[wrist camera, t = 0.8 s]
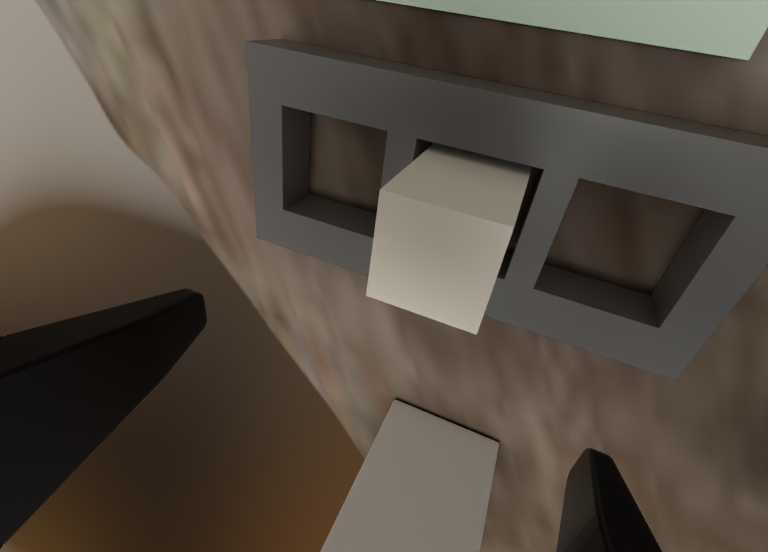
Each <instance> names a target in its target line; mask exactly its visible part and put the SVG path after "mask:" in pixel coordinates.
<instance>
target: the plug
mask: <svg viewBox="0 0 768 552" xmlns="http://www.w3.org/2000/svg"><path fill="white" fill-rule="evenodd" d="M531 170H532V166H528V165H524V164H520V163H516V162H512V161H507V160H503V159H499V158H495V157H491V156H487V155H483V154H479V153H475V152H471V151H467V150H463V149H458V148H454V147H450V146H446V145H442V144H438V143H434V144H433V145H431V146H430V147H429V148H428V149H427V150H426V151H424V152H423V153H422V154H421V155H420V156H419V157H417V158H416V159H415V160H414V161H413V162H412V163H410V164H409V165H408V166H407V167H406V168H404V169H403V170H402V171H401V172H400V173H399V174H397V175H396V176H395V177H394V178H393V179H392V180H390V181H389V182H388V183H387V184H386V185H385V186H383V187H382V188H381V189H380V192H379V200H378V207H377V215H376V223H375V231H374V238H373V246H372V254H371V261H370V269H369V277H368V284H367V292H366V296H368V297H371V298H374V299H377V300H380V301H383V302H385V303H388V304H391V305H394V306H397V307H399V308H402V309H405V310H408V311H411V312H414V313H416V314H419V315H422V316H425V317H428V318H431V319H433V320H436V321H439V322H442V323H445V324H447V325H450V326H453V327H456V328H459V329H462V330H464V331H467V332H470V333H473V334H476V335H477V333H478V330H479V327H480V324H481V321H482V318H483V315H484V312H485V310H486V307H487V304H488V301H489V298H490V295H491V292H492V289H493V287H494V284H495V281H496V278H497V275H498V272H499V269H500V267H501V264H502V261H503V258H504V255H505V252H506V249H507V246H508V244H509V241H510V238H511V235H512V232H513V229H514V226H515V223H516V220H517V216H518V213H519V210H520V206H521V203H522V200H523V197H524V193H525V190H526V187H527V183H528V180H529V177H530V174H531Z"/></svg>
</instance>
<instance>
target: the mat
mask: <svg viewBox="0 0 768 552" xmlns="http://www.w3.org/2000/svg"><path fill="white" fill-rule="evenodd" d="M378 1H385V2H391V3H397V4H403V5H409V6H415V7H422V8H428V9H434V10H440V11H446V12H452V13H459V14H465V15H471V16H477V17H483V18H489V19H496V20H502V21H508V22H514V23H520V24H526V25H533V26H539V27H545V28H551V29H557V30H564V31H570V32H576V33H582V34H588V35H594V36H601V37H607V38H613V39H619V40H625V41H631V42H638V43H644V44H650V45H656V46H662V47H668V48H675V49H681V50H687V51H693V52H699V53H705V54H712V55H718V56H724V57H730V58H736V59H742V60H749V59H750V57H751V55H752V54H753V52H754V50H755V48H756V46H757V45H758V43H759V41H760V39H761V38H762V36H763V34H764V32H765V31H766V29H767V27H768V0H378Z"/></svg>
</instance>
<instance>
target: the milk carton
mask: <svg viewBox="0 0 768 552" xmlns="http://www.w3.org/2000/svg"><path fill="white" fill-rule="evenodd" d="M498 448H499V443H498V442H496V441H494V440H491V439H489V438H487V437H484V436H482V435H480V434H477V433H475V432H472V431H470V430H468V429H465V428H463V427H460V426H458V425H456V424H453V423H451V422H448V421H446V420H444V419H441V418H439V417H436V416H434V415H432V414H429V413H427V412H424V411H422V410H420V409H417V408H415V407H412V406H410V405H407V404H405V403H403V402H400V401H398V400H394V401H393V403H392V405H391V407H390V409H389V411H388V413H387V415H386V417H385V419H384V422H383V424H382V426H381V428H380V430H379V432H378V434H377V436H376V438H375V440H374V442H373V444H372V446H371V448H370V450H369V452H368V455H367V457H366V459H365V461H364V463H363V465H362V467H361V469H360V471H359V473H358V475H357V477H356V479H355V481H354V483H353V486H352V488H351V490H350V492H349V494H348V496H347V498H346V500H345V502H344V504H343V506H342V508H341V510H340V512H339V514H338V516H337V519H336V521H335V523H334V525H333V527H332V529H331V531H330V533H329V535H328V537H327V540H326V542H325V543H324V546H323V547H322V550H321V552H480V546H481V541H482V535H483V530H484V525H485V519H486V514H487V508H488V503H489V497H490V492H491V486H492V481H493V476H494V470H495V465H496V459H497V454H498Z"/></svg>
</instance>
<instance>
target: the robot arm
mask: <svg viewBox="0 0 768 552" xmlns="http://www.w3.org/2000/svg"><path fill="white" fill-rule="evenodd" d="M206 323H207V314H206V308H205V301H204V297H203V295H202V294H201V293H199V292H197V291H194V290H192V289H188V288H185V289H181V290H177V291H173V292H169V293H165V294H162V295H158V296H154V297H150V298H146V299H142V300H138V301H135V302H131V303H127V304H123V305H119V306H115V307H111V308H108V309H104V310H100V311H96V312H93V313H88V314H85V315H81V316H77V317H73V318H69V319H65V320H62V321H58V322H54V323H50V324H46V325H42V326H39V327H35V328H31V329H27V330H23V331H20V332H16V333H12V334H8V335H6V336H5V337H4V336H0V549H1V547H2V546H3V544H5V543H6V542H7V541H8V540H9V539H10V538H11V537H12V536H13V535H14V534H15V533H16V532H17V531H18V530H19V529H20V528H21V527H22V525H23V524H24V523H25V522H26V521H27V520H28V519H29V518H30V517H31V516H32V515H33V514H34V513H35V512H36V511H37V510H38V509H39V508H40V507H41V506H42V505H43V504H44V503H45V501H47V499H48V498H49V497H50V496H51V495H52V494H53V493H54V492H55V491H56V490H57V489H58V488H59V487H60V486H61V485H62V484H63V483H64V482H65V481H66V480H67V479H68V478H69V477H70V476H71V474H72V473H73V472H74V471H75V470H76V469H77V468H78V467H79V466H80V465H81V464H82V463H83V462H84V461H85V460H86V459H87V458H88V457H89V456H90V455H91V454H92V453H93V452H94V451H95V449H97V447H98V446H99V445H100V444H101V443H102V442H103V441H104V440H105V439H106V438H107V437H108V436H109V435H110V434H111V433H112V432H113V431H114V430H115V429H116V428H117V427H118V426H119V425H120V424H121V422H122V421H123V420H124V419H125V418H126V417H127V416H128V415H129V414H130V413H131V412H132V411H133V410H134V409H135V408H136V407H137V406H138V405H139V404H140V403H141V402H142V401H143V400H144V398H145V397H146V396H147V395H148V394H149V393H150V392H151V391H152V390H153V389H154V388H155V387H156V386H157V385H158V384H159V383H160V382H161V381H162V380H163V379H164V377H165V376H166V375H167V374H168V373H169V372H170V370H171V369H172V368H173V367H174V365H175V364H176V363H177V362H178V360H179V359H180V358H181V357H182V355H183V354H184V353H185V352H186V350H187V349H188V348H189V346H190V345H191V344H192V343H193V341H194V340H195V339H196V338H197V336H198V335H199V334H200V333H201V331H202V330H203V329H204V327H205V325H206ZM557 552H662V551H661V549H660V547H659V545H658V543H657V541H656V540H655V538H654V536H653V534H652V532H651V530H650V528H649V526H648V525H647V523H646V521H645V519H644V517H643V515H642V513H641V511H640V510H639V508H638V506H637V504H636V502H635V500H634V498H633V496H632V495H631V493H630V491H629V489H628V487H627V485H626V483H625V481H624V480H623V478H622V476H621V474H620V472H619V470H618V468H617V466H616V465H615V463H614V461H613V459H612V458H611V457H610V456H609V455H607V454H605V453H602V452H599V451H597V450H594V449H592V448H587V449H585V450H584V451H583V453H582V454H581V456H580V457H579V459H578V460H577V462H576V463H575V464H574V466H573V467H572V469H571V470H570V472H569V475H568V478H567V483H566V490H565V497H564V503H563V510H562V517H561V524H560V531H559V537H558V544H557Z"/></svg>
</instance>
